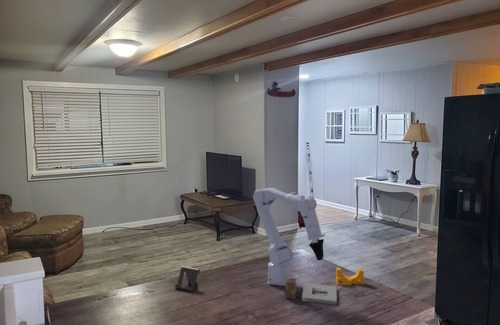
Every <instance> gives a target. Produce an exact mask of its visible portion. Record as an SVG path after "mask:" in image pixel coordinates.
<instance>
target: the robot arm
mask: <svg viewBox="0 0 500 325" xmlns="http://www.w3.org/2000/svg"><path fill="white" fill-rule="evenodd" d="M252 199H253V201H254V204H255V207H256V211H257V213H258V216H259V219H260V221H261V224H262V226H263V228H264V231H265V234H266V236H267V238H268V241H269V243H270V246H269V248H268V250H267V251H268V254H269V262H268V265H267V285H272V286H273V285H274V286H284V287H286V279H287V278H290V277H289V276H290V275H289V273H290V272H289V270H290V263H291V261H292V259H293V257H294V253H293V251H292V249H291V248H290V247H289V244H288V243H287V242H285V241H283V240H282V237H281V236H280V233H279V230H278V228H277V225H276V223H275V220H274V218H273V215H272V213H271V211H270V208H271V207H272V205H273V204H274V202H275V200H279V201H283V202H285V204H286V205H288V206H290V207H292V208H295V209H297V211H298V212H300V214H301V216H302V218H303V222H304V223H303V224H304V226H305V230H306V234H307V240H308V241H311V242H310V243H308V246H309V247H310V248H311V250H312V251H313V253H314V256H315V257H316V260H317V261H323V260H324V254H325V253H324V237H325V236H326V235H325V234H324V233H323V234H322V232H321V227H320V223H319V222H320V221H319V219H318V215H317V211H316V208H317V200H316V199H315V198H314V197H313V196H307V197H306V196H305V195H300V194H298V193H297V192H295V191H292V192H290V193H286V192H284V191H281V190H279V189H277V188H275V187H271V186H270V187H267V188H261V189H256V190H254V192H253V194H252Z"/></svg>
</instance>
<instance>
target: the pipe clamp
mask: <svg viewBox="0 0 500 325" xmlns="http://www.w3.org/2000/svg"><path fill="white" fill-rule="evenodd" d="M364 272H365V270H364V269H363V268H358V270H357V272H356V273H355V275H353V276H347V275H345V274H344V273H343V272H342V268H341V267H336V268H335V283H336V286H337V285H339V286H352V285H364Z"/></svg>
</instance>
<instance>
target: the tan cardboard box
mask: <svg viewBox="0 0 500 325" xmlns="http://www.w3.org/2000/svg"><path fill="white" fill-rule="evenodd" d="M284 287H285V288H284V289H285V291H284V292H285V293H284V294H285V296H284V298H285V299H292V300H295V299H296V293H297V290H296V289H297V279H296V278H290V277H288V278H287V279H286V286H284Z"/></svg>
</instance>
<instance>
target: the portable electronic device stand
mask: <svg viewBox="0 0 500 325" xmlns="http://www.w3.org/2000/svg"><path fill="white" fill-rule="evenodd" d="M200 273H201V269H200V268H196V267H195V268H194V267H190V266H184V265H182V266H181V267H180V271H179V276H178V281H177V283H175V285H174V288H175V289H177V290H182V291H188V292H192V293H193V292H194V291H195V288H196V285H197V286H198V281H197V279H198V275H199V274H200ZM184 275H185V277H186V279H187V283H188V284H190V286H187V285H186V286H183V281H184Z"/></svg>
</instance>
